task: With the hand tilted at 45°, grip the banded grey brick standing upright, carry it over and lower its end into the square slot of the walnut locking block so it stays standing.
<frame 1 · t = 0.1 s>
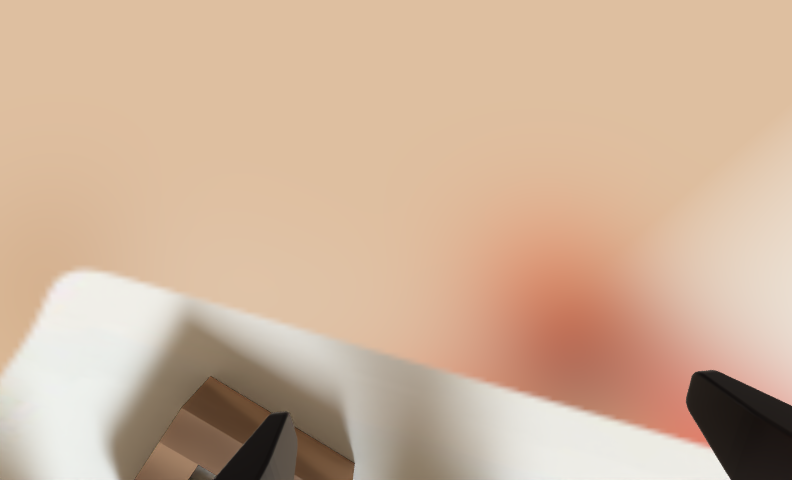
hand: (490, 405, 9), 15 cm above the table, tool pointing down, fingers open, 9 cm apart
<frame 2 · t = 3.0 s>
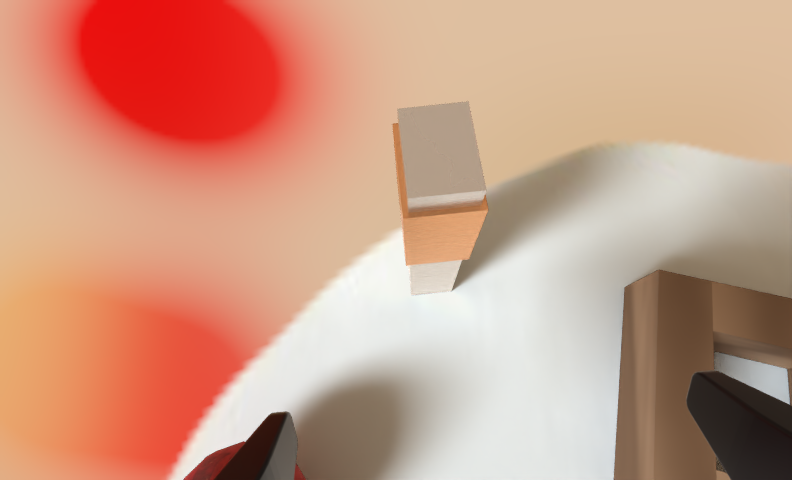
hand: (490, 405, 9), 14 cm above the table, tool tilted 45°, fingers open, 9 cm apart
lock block: (729, 412, 21), on the table
banded grey brick: (427, 266, 24), on the table
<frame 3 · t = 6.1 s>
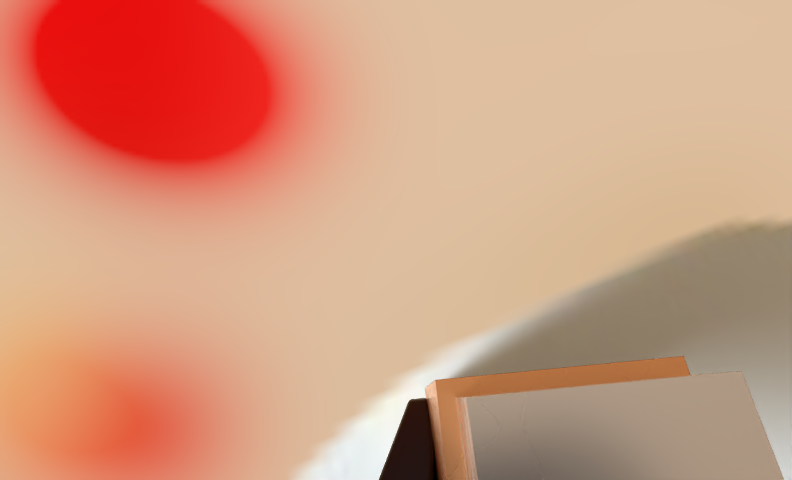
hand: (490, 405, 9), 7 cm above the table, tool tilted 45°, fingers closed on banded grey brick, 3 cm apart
banded grey brick: (465, 443, 14), on the table, touching gripper
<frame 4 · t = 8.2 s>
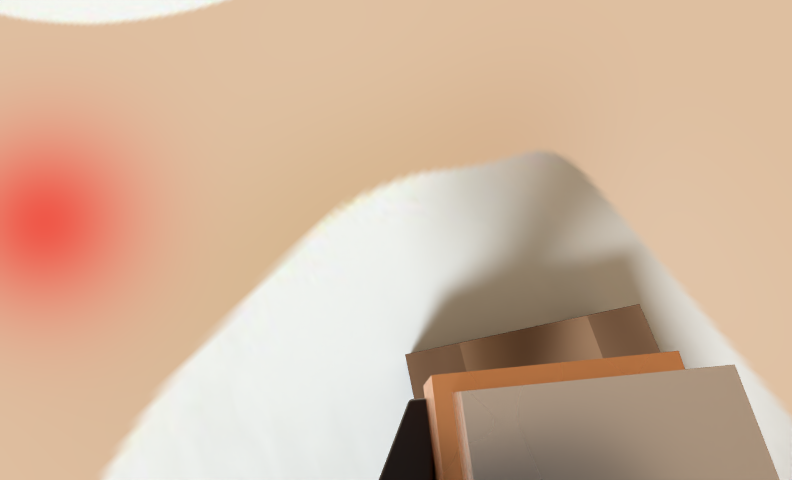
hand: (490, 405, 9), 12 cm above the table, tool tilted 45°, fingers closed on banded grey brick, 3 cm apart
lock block: (540, 451, 19), on the table
banded grey brick: (464, 441, 14), point 6 cm above the table, touching gripper
when the fingers open (8 cm above the table, at t = 10.1 s): banded grey brick drops 1 cm, resting in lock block.
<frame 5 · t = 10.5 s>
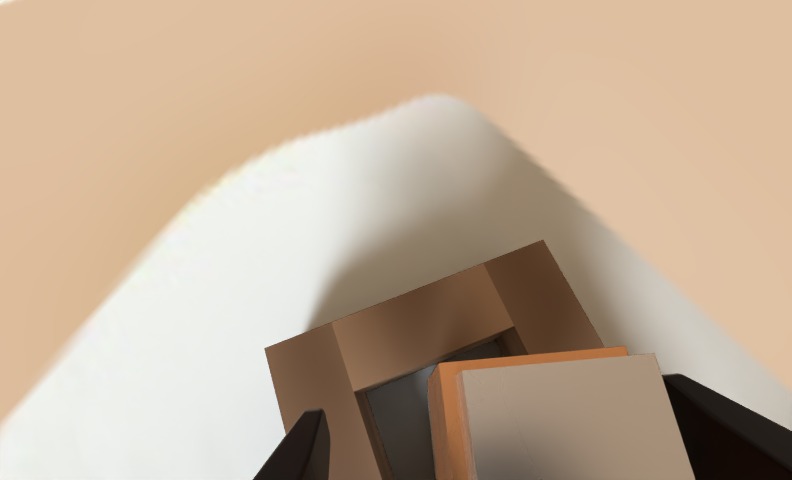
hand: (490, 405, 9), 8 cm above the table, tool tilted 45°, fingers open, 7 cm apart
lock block: (461, 438, 16), on the table
banded grey brick: (461, 436, 16), resting in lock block
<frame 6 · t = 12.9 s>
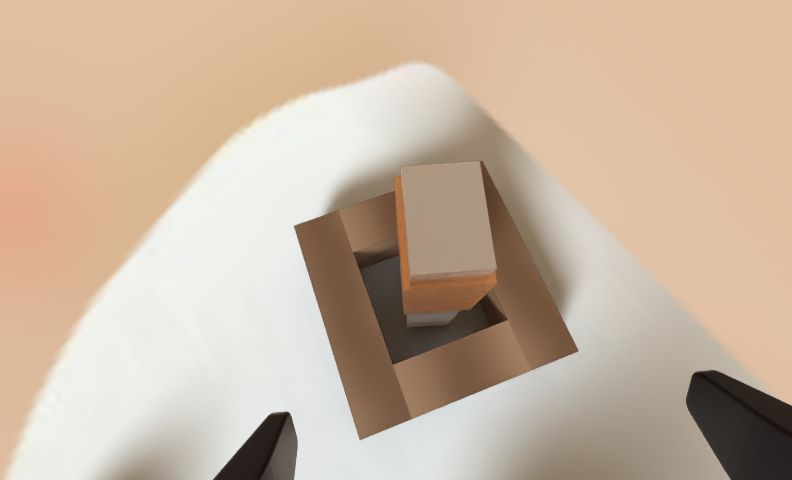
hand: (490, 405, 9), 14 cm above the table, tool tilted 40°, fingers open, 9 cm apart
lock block: (424, 297, 23), on the table
banded grey brick: (424, 296, 23), resting in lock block
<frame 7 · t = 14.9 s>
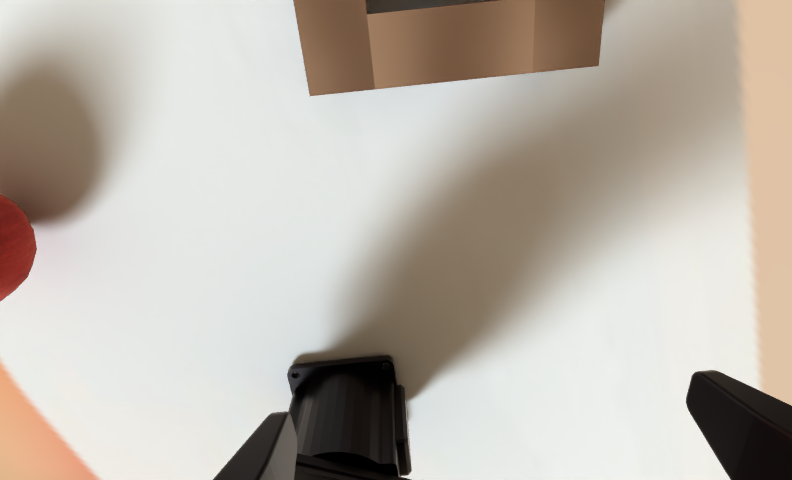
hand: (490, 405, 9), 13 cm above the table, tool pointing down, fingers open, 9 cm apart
onion: (20, 217, 20), on the table
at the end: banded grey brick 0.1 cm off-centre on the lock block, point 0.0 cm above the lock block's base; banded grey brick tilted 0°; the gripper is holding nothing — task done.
